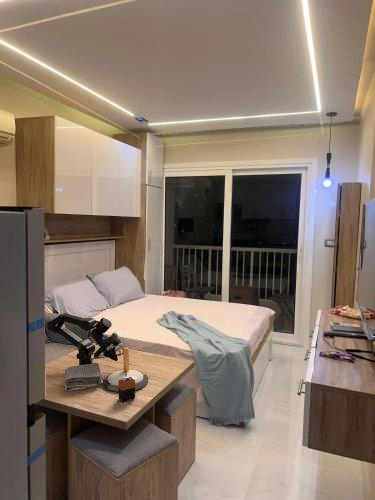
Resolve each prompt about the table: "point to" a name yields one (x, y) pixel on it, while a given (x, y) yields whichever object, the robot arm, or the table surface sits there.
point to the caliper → (115, 350)
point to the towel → (82, 377)
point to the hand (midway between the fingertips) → (117, 360)
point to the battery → (126, 389)
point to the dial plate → (116, 389)
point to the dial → (125, 371)
